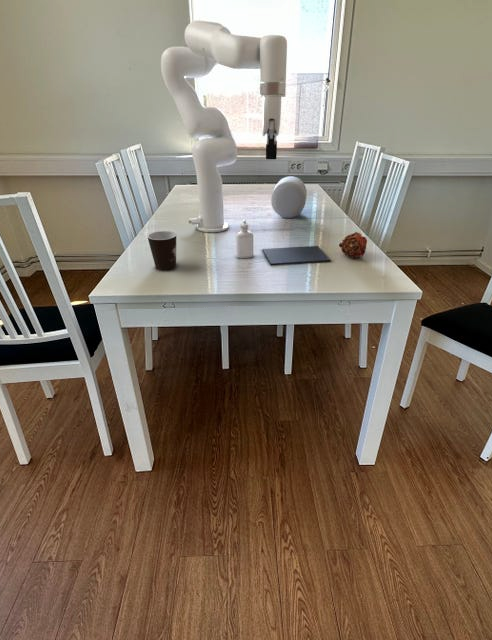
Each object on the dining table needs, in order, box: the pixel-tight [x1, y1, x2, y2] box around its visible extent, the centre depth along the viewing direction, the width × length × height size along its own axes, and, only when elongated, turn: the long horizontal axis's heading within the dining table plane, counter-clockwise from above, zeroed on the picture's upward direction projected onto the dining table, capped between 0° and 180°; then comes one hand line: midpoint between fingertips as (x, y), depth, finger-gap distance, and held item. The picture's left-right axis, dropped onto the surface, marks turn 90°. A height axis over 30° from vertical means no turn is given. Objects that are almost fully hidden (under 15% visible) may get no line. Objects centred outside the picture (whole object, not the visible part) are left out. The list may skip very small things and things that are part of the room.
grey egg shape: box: [268, 175, 308, 219], centre depth 175 cm, size 19×15×25 cm
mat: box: [262, 245, 331, 266], centre depth 133 cm, size 20×14×1 cm
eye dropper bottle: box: [235, 219, 254, 259], centre depth 129 cm, size 4×6×12 cm
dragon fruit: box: [338, 231, 368, 260], centre depth 131 cm, size 8×8×12 cm
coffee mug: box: [146, 230, 177, 272], centre depth 122 cm, size 12×9×10 cm
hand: (271, 156), depth 123 cm, fingers open, 9 cm apart
